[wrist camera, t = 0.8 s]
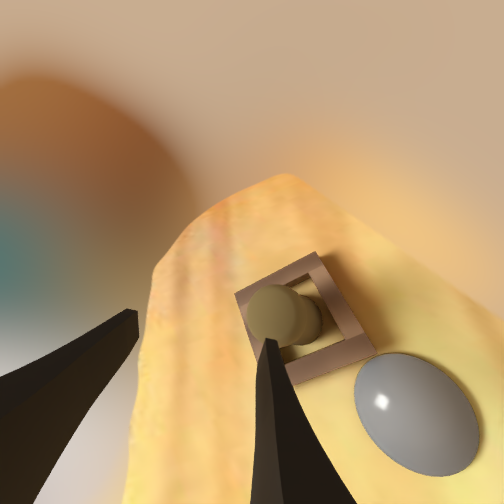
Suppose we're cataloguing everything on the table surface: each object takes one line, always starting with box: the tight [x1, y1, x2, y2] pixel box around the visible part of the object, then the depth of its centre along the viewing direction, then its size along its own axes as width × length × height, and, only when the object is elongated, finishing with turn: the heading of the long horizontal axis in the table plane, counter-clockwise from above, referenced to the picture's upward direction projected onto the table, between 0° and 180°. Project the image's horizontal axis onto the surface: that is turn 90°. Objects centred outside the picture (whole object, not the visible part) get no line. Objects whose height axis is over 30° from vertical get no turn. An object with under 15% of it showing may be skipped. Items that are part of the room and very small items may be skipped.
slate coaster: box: [354, 353, 479, 477], centre depth 18 cm, size 9×9×1 cm
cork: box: [246, 284, 323, 348], centre depth 20 cm, size 6×6×11 cm
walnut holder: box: [234, 251, 377, 386], centre depth 24 cm, size 12×12×2 cm
